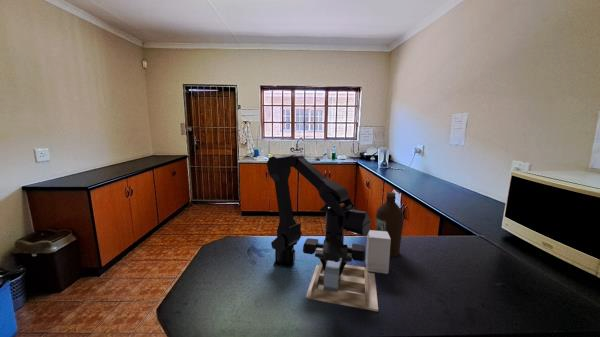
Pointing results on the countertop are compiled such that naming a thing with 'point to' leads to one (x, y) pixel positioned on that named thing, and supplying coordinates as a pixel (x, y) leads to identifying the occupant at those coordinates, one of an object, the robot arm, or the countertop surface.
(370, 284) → the divided wooden tray
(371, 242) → the supplement box
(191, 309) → the countertop surface
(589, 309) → the countertop surface
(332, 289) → the grey rectangular block
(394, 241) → the olive oil
